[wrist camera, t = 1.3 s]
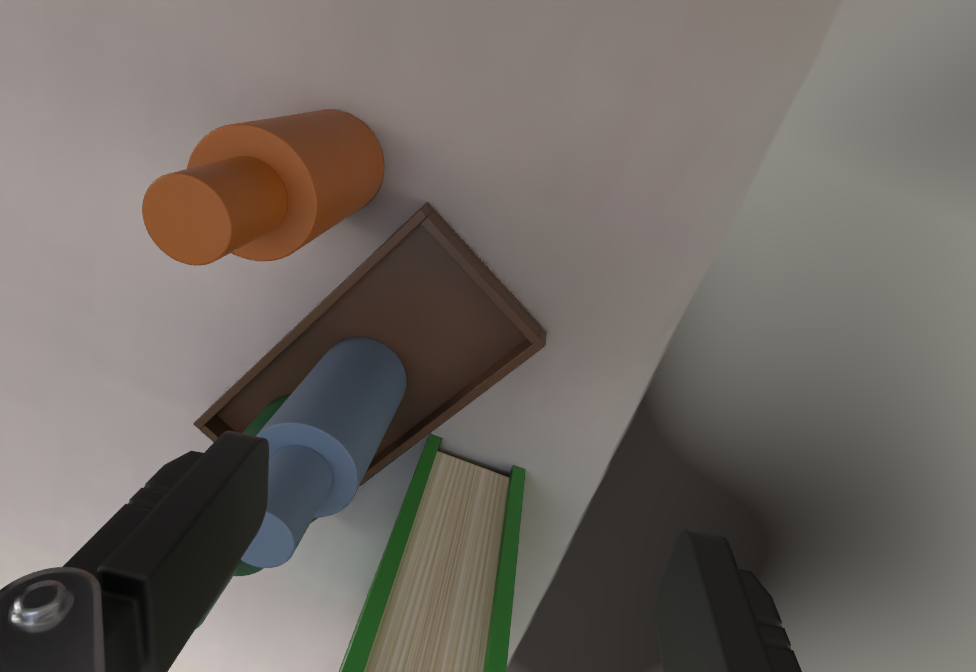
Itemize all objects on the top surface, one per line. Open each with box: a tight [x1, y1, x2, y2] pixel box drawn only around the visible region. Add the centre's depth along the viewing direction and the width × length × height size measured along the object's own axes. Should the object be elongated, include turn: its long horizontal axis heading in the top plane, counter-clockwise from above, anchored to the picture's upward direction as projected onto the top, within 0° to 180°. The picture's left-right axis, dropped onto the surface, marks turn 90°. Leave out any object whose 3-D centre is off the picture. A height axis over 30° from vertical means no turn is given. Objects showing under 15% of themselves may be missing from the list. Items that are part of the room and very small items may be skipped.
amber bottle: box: [142, 110, 384, 265], centre depth 29 cm, size 6×6×16 cm
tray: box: [194, 202, 546, 523], centre depth 41 cm, size 11×23×2 cm, turn 133°
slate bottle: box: [241, 337, 407, 568], centre depth 34 cm, size 6×6×16 cm
